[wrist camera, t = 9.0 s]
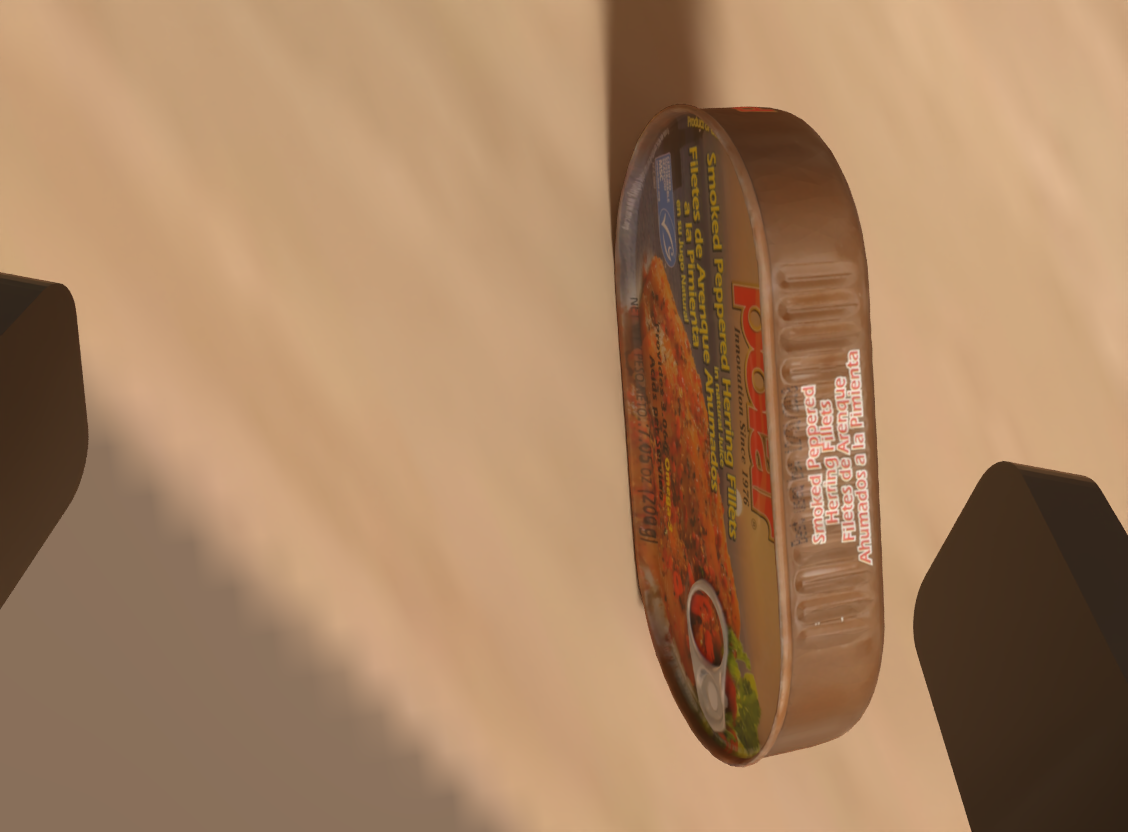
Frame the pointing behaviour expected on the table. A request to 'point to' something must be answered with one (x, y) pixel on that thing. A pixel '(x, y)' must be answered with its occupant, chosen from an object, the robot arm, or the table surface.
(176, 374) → the table surface
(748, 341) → the tin
